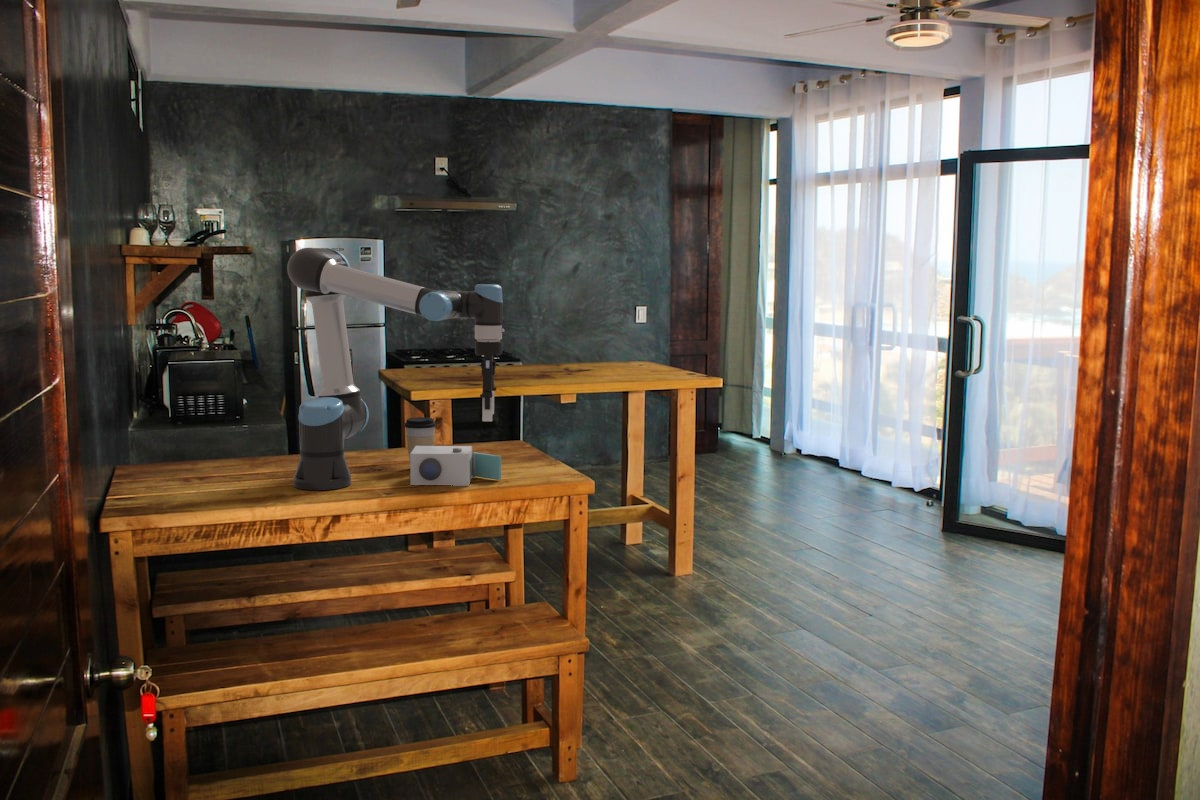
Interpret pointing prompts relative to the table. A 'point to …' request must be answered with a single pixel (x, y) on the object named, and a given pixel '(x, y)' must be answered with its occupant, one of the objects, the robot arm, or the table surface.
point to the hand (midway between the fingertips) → (488, 417)
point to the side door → (486, 466)
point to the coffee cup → (419, 432)
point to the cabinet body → (441, 465)
